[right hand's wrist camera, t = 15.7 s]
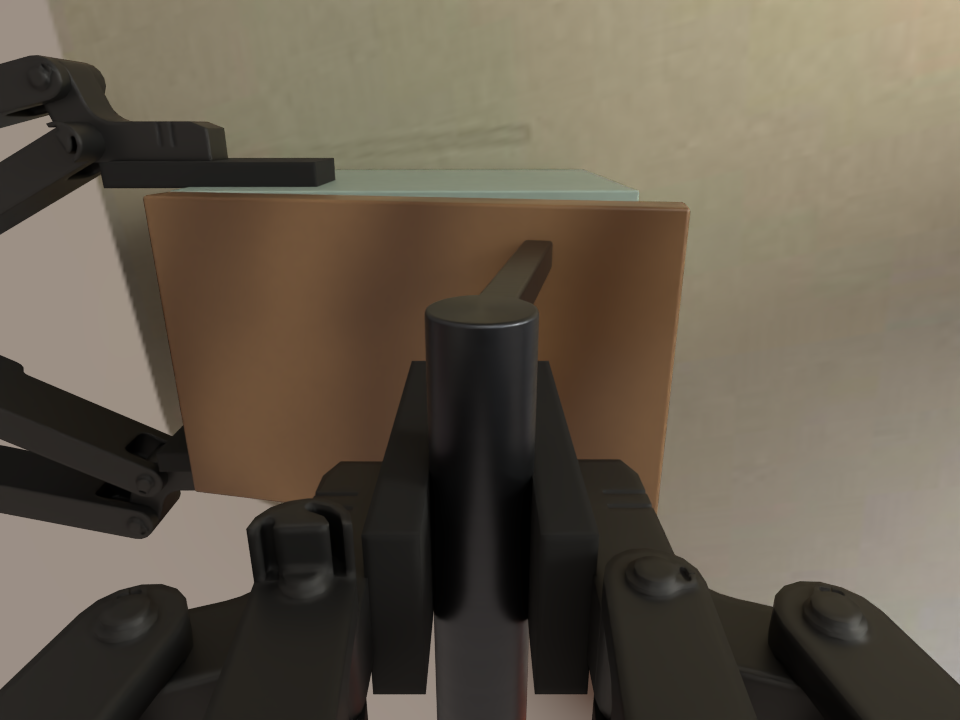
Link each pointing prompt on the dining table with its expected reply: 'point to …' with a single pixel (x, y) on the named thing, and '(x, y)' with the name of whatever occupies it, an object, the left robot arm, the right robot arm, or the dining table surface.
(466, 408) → the lid
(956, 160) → the dining table surface
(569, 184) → the chest
